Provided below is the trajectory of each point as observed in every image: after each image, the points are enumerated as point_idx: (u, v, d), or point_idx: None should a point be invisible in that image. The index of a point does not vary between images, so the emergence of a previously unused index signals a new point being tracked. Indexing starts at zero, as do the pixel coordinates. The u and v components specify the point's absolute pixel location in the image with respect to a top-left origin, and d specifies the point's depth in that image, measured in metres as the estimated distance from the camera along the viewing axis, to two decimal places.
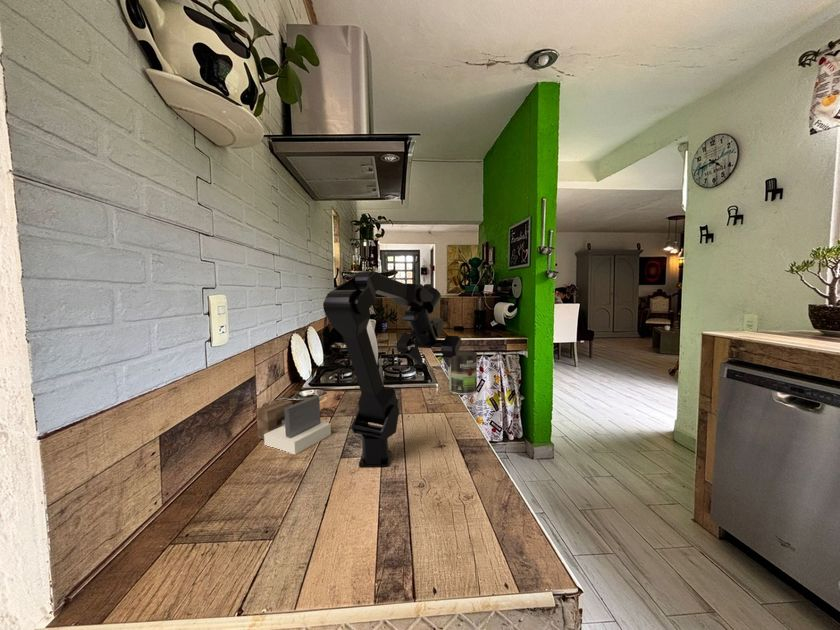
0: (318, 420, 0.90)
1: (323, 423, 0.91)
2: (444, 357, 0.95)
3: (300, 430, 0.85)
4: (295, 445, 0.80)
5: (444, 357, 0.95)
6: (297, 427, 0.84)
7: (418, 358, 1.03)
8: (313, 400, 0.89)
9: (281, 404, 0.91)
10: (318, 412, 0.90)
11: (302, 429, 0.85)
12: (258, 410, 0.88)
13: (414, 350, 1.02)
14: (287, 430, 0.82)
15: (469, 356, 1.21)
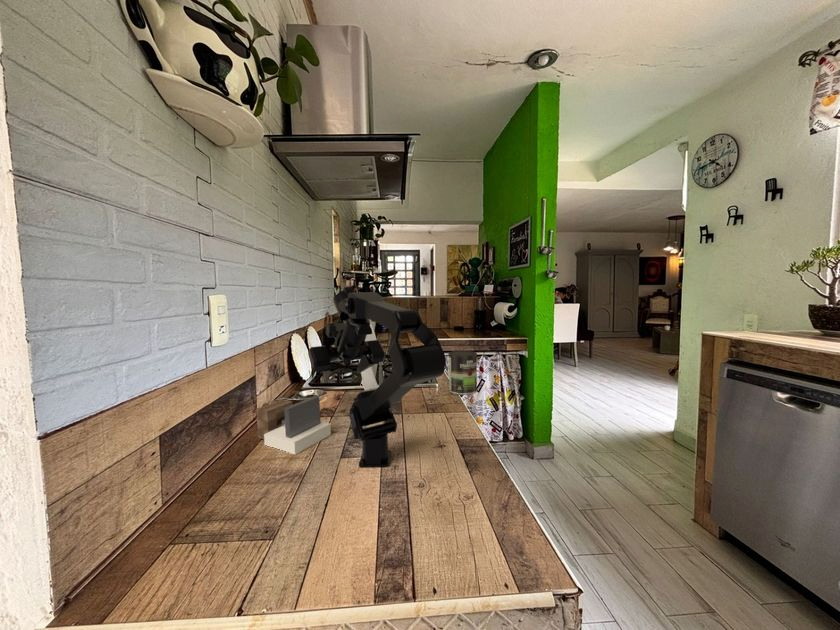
0: (318, 420, 0.90)
1: (323, 423, 0.91)
2: (370, 364, 0.90)
3: (300, 430, 0.85)
4: (295, 445, 0.80)
5: (370, 365, 0.90)
6: (297, 427, 0.84)
7: None
8: (313, 400, 0.89)
9: (281, 404, 0.91)
10: (318, 412, 0.90)
11: (302, 429, 0.85)
12: (258, 410, 0.88)
13: None
14: (287, 430, 0.82)
15: (469, 356, 1.21)
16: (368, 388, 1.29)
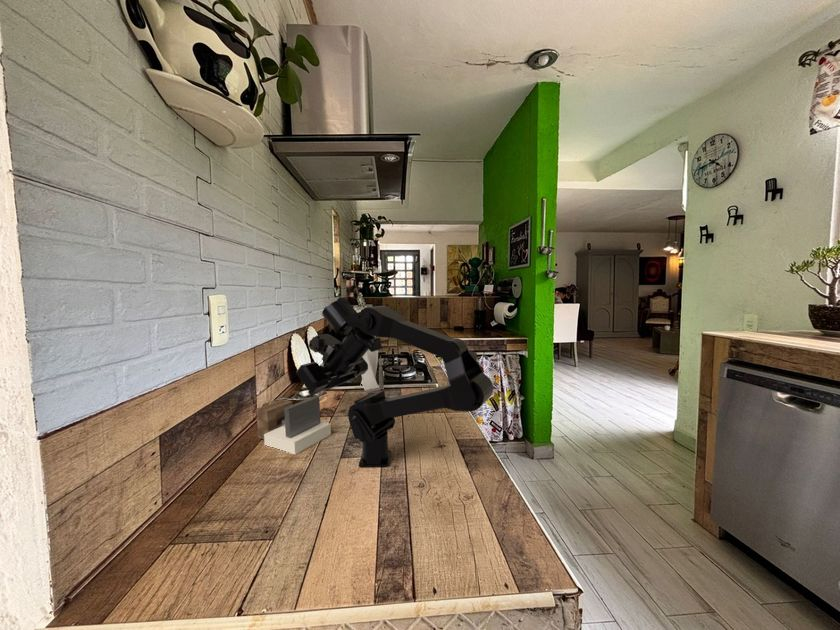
0: (318, 420, 0.90)
1: (323, 423, 0.91)
2: (348, 380, 0.84)
3: (300, 430, 0.85)
4: (295, 445, 0.80)
5: (347, 380, 0.84)
6: (297, 427, 0.84)
7: None
8: (313, 400, 0.89)
9: (281, 404, 0.91)
10: (318, 412, 0.90)
11: (302, 429, 0.85)
12: (258, 410, 0.88)
13: None
14: (287, 430, 0.82)
15: None
16: (368, 388, 1.29)
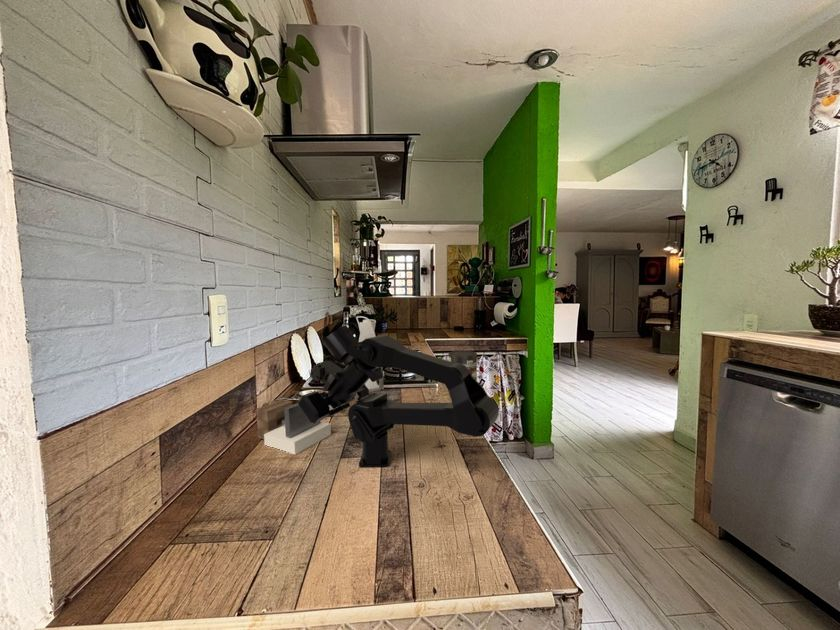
0: None
1: (323, 423, 0.91)
2: (342, 409, 0.82)
3: (300, 430, 0.85)
4: (295, 445, 0.80)
5: None
6: (297, 427, 0.84)
7: None
8: None
9: (281, 404, 0.91)
10: None
11: (302, 429, 0.85)
12: (258, 410, 0.88)
13: None
14: (287, 430, 0.82)
15: (469, 356, 1.21)
16: (368, 388, 1.29)
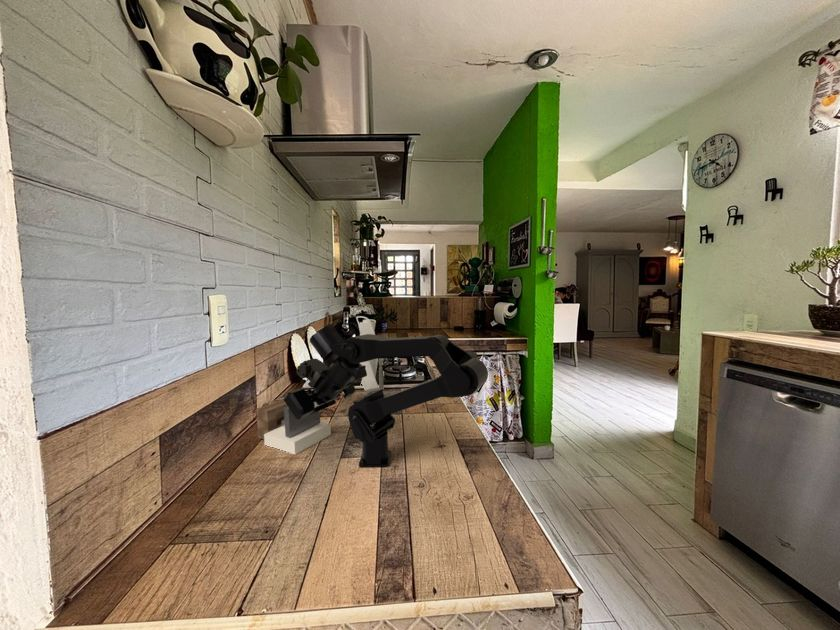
0: (318, 420, 0.90)
1: (323, 423, 0.91)
2: (328, 406, 0.84)
3: (299, 430, 0.85)
4: (295, 445, 0.80)
5: (328, 406, 0.84)
6: (297, 427, 0.84)
7: None
8: None
9: (281, 404, 0.91)
10: (318, 412, 0.90)
11: (302, 429, 0.85)
12: (258, 410, 0.88)
13: None
14: (287, 430, 0.82)
15: None
16: (368, 388, 1.29)
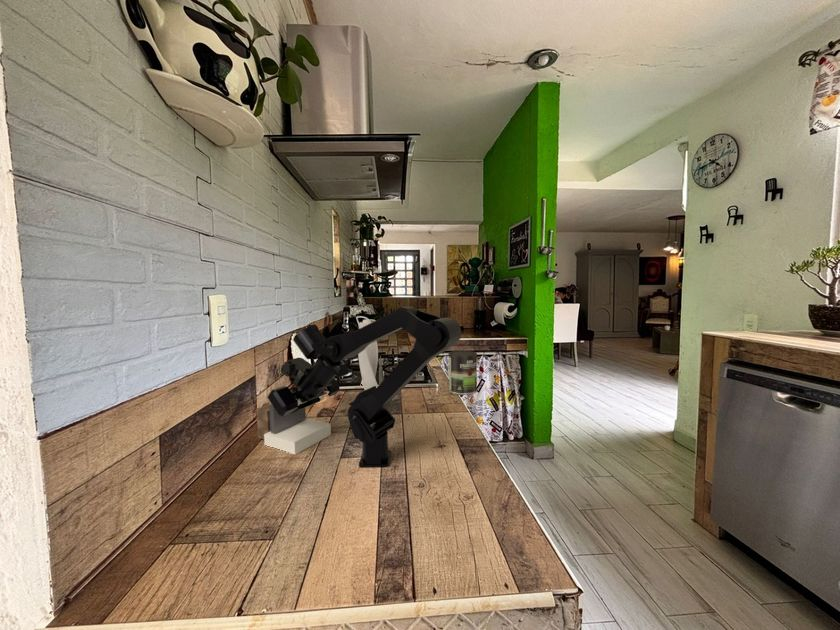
0: (303, 417, 0.93)
1: (323, 423, 0.91)
2: None
3: (284, 426, 0.87)
4: (295, 445, 0.80)
5: (312, 404, 0.86)
6: (282, 423, 0.86)
7: None
8: None
9: None
10: (303, 409, 0.93)
11: (287, 425, 0.88)
12: (258, 410, 0.88)
13: None
14: (272, 426, 0.85)
15: (469, 356, 1.21)
16: (368, 388, 1.29)
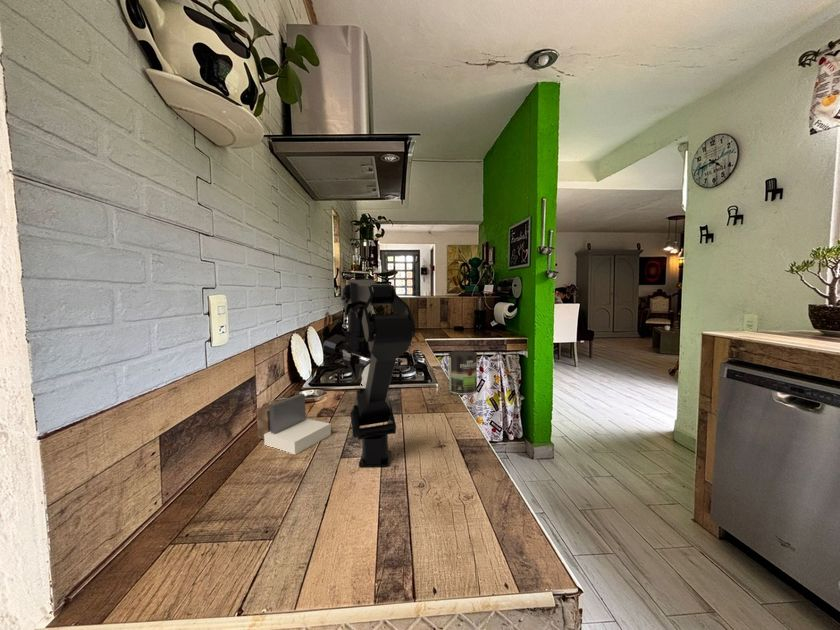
0: (303, 417, 0.93)
1: (323, 423, 0.91)
2: (356, 365, 0.88)
3: (284, 426, 0.87)
4: (295, 445, 0.80)
5: (356, 365, 0.88)
6: (282, 423, 0.86)
7: None
8: (298, 397, 0.91)
9: None
10: (303, 409, 0.93)
11: (287, 425, 0.88)
12: (258, 410, 0.88)
13: (355, 360, 0.91)
14: (272, 426, 0.85)
15: (469, 356, 1.21)
16: None
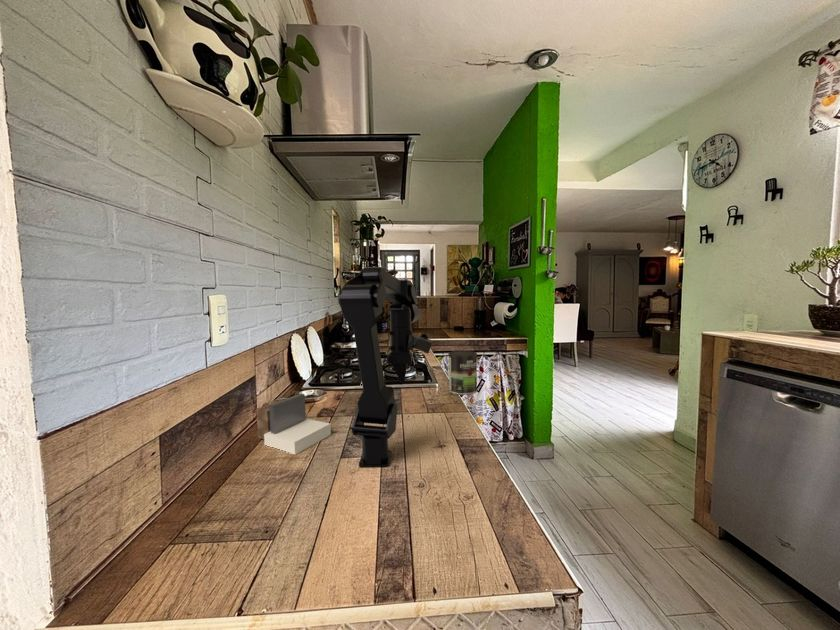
0: (303, 417, 0.93)
1: (323, 423, 0.91)
2: None
3: (284, 426, 0.87)
4: (295, 445, 0.80)
5: None
6: (282, 423, 0.86)
7: None
8: (298, 397, 0.91)
9: None
10: (303, 409, 0.93)
11: (287, 425, 0.88)
12: (258, 410, 0.88)
13: None
14: (272, 426, 0.85)
15: (469, 356, 1.21)
16: None
